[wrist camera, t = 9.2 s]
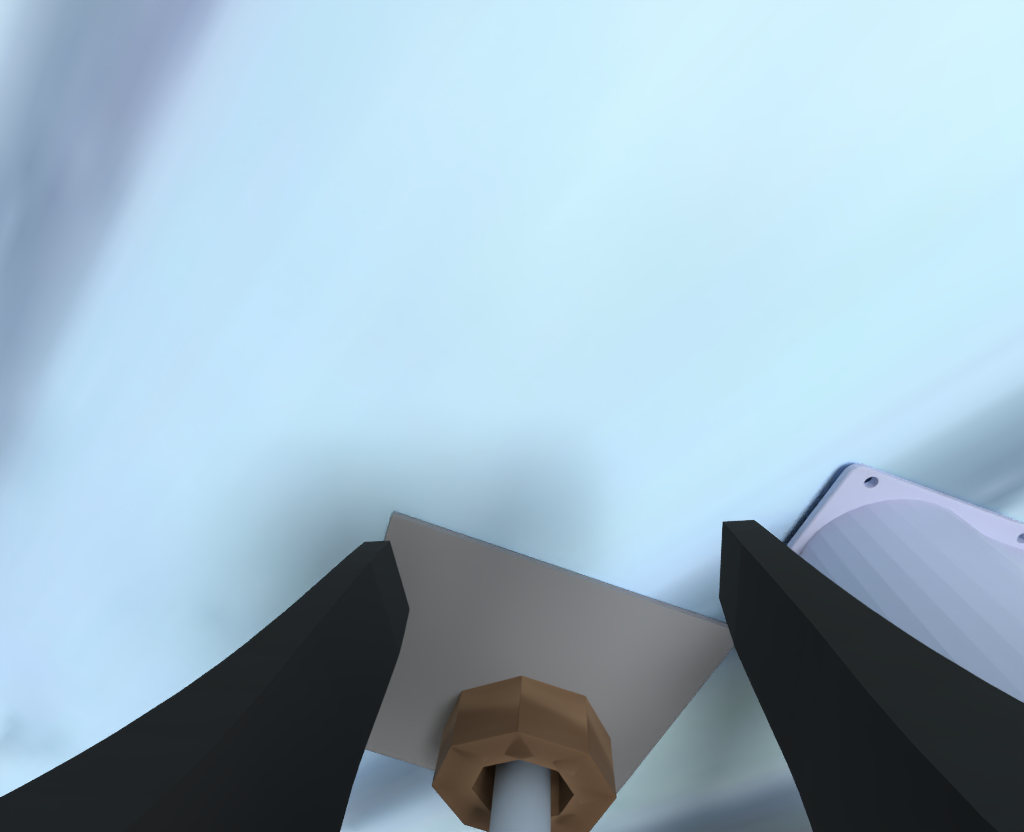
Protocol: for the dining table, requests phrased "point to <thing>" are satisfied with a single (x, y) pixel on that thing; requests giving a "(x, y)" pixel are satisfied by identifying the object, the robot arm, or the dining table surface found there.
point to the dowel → (521, 798)
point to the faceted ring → (526, 751)
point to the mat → (534, 644)
